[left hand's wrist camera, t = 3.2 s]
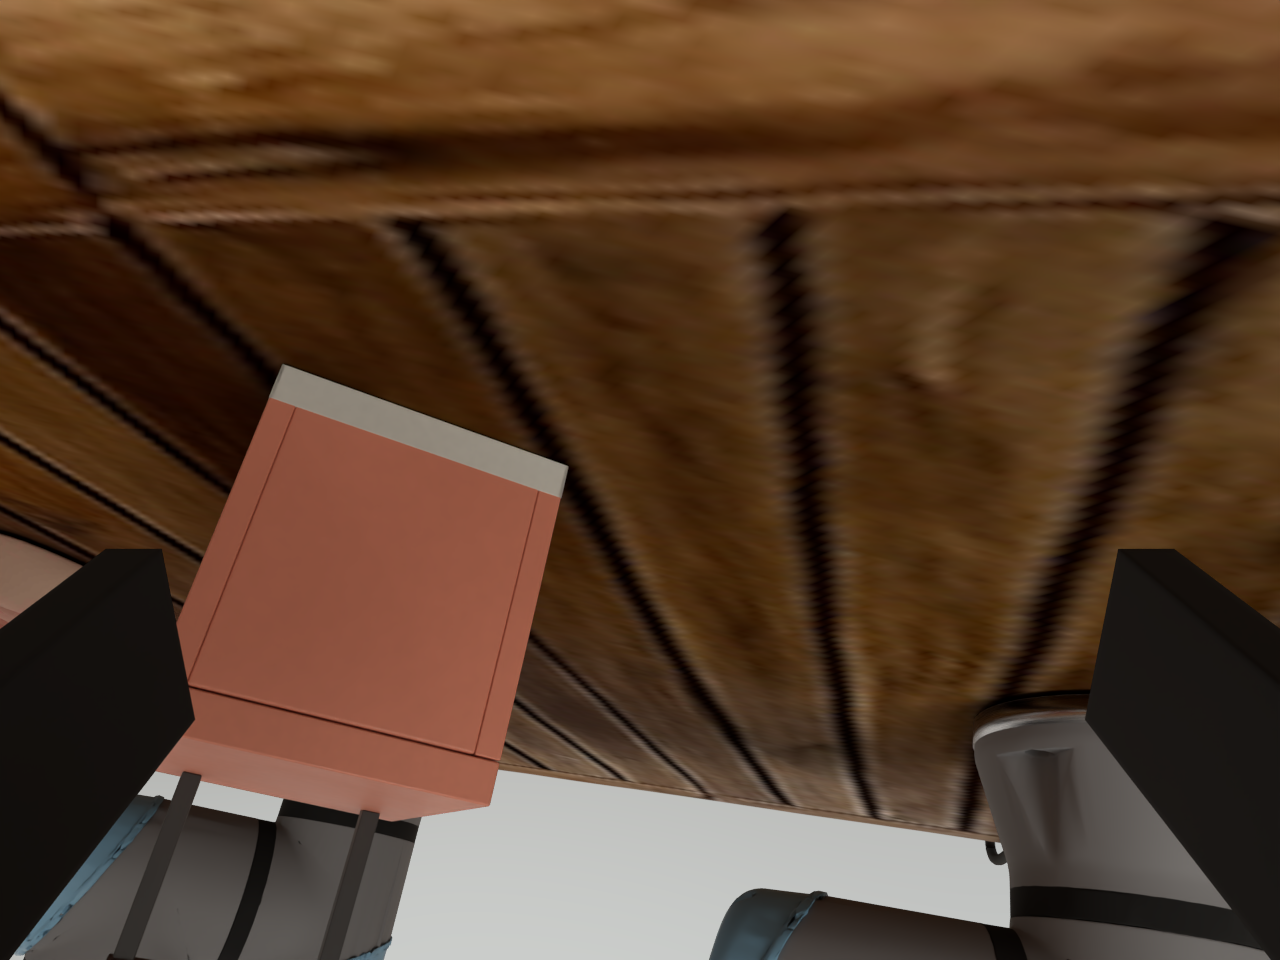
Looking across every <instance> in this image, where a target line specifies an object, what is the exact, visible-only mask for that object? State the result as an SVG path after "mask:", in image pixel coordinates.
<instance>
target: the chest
mask: <svg viewBox="0 0 1280 960" xmlns="http://www.w3.org/2000/svg"><path fill="white" fill-rule="evenodd" d="M567 471H568V466H566V465H563V464H561V463H558V462H555V461H552V460H549V459H547V458H544V457H541V456H538V455H535V454H533V453H530V452H527V451H524V450H521V449H519V448H516V447H513V446H510V445H508V444H505V443H502V442H499V441H496V440H494V439H491V438H488V437H485V436H482V435H480V434H477V433H474V432H471V431H468V430H466V429H463V428H460V427H457V426H454V425H452V424H449V423H446V422H443V421H441V420H438V419H435V418H432V417H429V416H427V415H424V414H421V413H418V412H415V411H413V410H410V409H407V408H404V407H401V406H399V405H396V404H393V403H390V402H388V401H385V400H382V399H379V398H376V397H374V396H371V395H368V394H365V393H362V392H360V391H357V390H354V389H351V388H348V387H346V386H343V385H340V384H337V383H334V382H332V381H329V380H326V379H323V378H321V377H318V376H315V375H312V374H309V373H307V372H304V371H301V370H298V369H295V368H293V367H290V366H287V365H284V364H282V367H281V369H280V371H279V374H278V376H277V379H276V381H275V384H274V386H273V388H272V391H271V393H270V396H269V399H268V402H267V404H266V407H265V409H264V412H263V414H262V416H261V419H260V421H259V424H258V426H257V429H256V431H255V433H254V436H253V438H252V441H251V443H250V446H249V448H248V450H247V453H246V455H245V458H244V460H243V463H242V465H241V467H240V470H239V472H238V475H237V477H236V480H235V482H234V484H233V487H232V489H231V492H230V494H229V497H228V499H227V502H226V504H225V506H224V509H223V511H222V514H221V516H220V519H219V521H218V523H217V526H216V528H215V531H214V533H213V536H212V538H211V540H210V543H209V545H208V548H207V550H206V553H205V555H204V557H203V560H202V562H201V565H200V567H199V570H198V572H197V574H196V577H195V579H194V582H193V584H192V587H191V589H190V591H189V594H188V596H187V599H186V601H185V604H184V606H183V608H182V611H181V613H180V616H179V618H178V621H177V623H176V624H177V629H178V634H179V639H180V645H181V650H182V655H183V660H184V665H185V670H186V675H187V680H188V685H189V687H190V688H194V689H198V690H202V691H206V692H210V693H215V694H219V695H223V696H227V697H231V698H235V699H239V700H243V701H247V702H252V703H256V704H260V705H264V706H268V707H272V708H276V709H280V710H285V711H289V712H293V713H297V714H301V715H305V716H309V717H313V718H318V719H322V720H326V721H330V722H334V723H338V724H342V725H346V726H350V727H355V728H359V729H363V730H367V731H371V732H375V733H379V734H383V735H388V736H392V737H396V738H400V739H404V740H408V741H412V742H416V743H421V744H425V745H429V746H433V747H437V748H441V749H445V750H449V751H453V752H458V753H462V754H466V755H470V756H474V757H478V758H482V759H486V760H491V761H495V762H496V761H499V760H500V759H501V755H502V751H503V746H504V742H505V738H506V733H507V729H508V725H509V720H510V716H511V711H512V707H513V703H514V698H515V694H516V690H517V685H518V681H519V677H520V672H521V668H522V664H523V659H524V655H525V651H526V646H527V642H528V638H529V633H530V629H531V625H532V620H533V616H534V612H535V607H536V603H537V599H538V594H539V590H540V586H541V581H542V577H543V572H544V568H545V564H546V559H547V555H548V551H549V546H550V542H551V538H552V533H553V529H554V525H555V520H556V516H557V512H558V507H559V503H560V499H561V497H562V493H563V488H564V484H565V480H566V475H567Z"/></svg>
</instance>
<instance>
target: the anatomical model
mask: <svg viewBox="0 0 1280 960" xmlns="http://www.w3.org/2000/svg"><path fill="white" fill-rule="evenodd" d="M81 567H83V566H82V565H80V564H78V563H76V562H74V561H71V560H69V559H67V558H64V557H62V556H60V555H57V554H55V553H53V552H50V551H48V550H45V549H43V548H40V547H38V546H35V545H33V544H30V543H28V542H25V541H22V540H19V539H17V538H14V537H11V536H7V535H4V534H0V629H1V628H2V627H3V626H5V625H6V624H7V623H9V622H10V621H11V620H12V619H14V618H15V617H16V616H18V615H19V614H20V613H22V612H23V611H24V610H26V609H27V608H28V607H30V606H31V605H32V604H34V603H35V602H36V601H38V600H39V599H40V598H42V597H43V596H44V595H46V594H47V593H48V592H50V591H51V590H52V589H54V588H55V587H56V586H58V585H59V584H60V583H61V582H63V581H64V580H65V579H67V578H68V577H69V576H71V575H72V574H73V573H75V572H76V571H77V570H79V569H80V568H81Z"/></svg>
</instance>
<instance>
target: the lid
mask: <svg viewBox="0 0 1280 960" xmlns="http://www.w3.org/2000/svg"><path fill="white" fill-rule="evenodd" d="M189 690H190V695H191V700H192V705H193V710H194V716H195V721H194V722H193V723H192V724H191V726H190V727H189V728H188V730H187V731H186V732H185V734H184V735H183V736H182V737H181V739H180V740H179V741H178V743H177V744H176V745H175V746H174V748H173V749H172V750H171V752H170V753H169V754H168V755H167V757H166V758H165V759H164V761H163V762H162V763H161V765H160V766H159V767H158V768H157V770H156V771H157V772H162V773H167V774H171V775H176V776H181V777H180V780H179V782H178V785H177V788H176V790H175V793H174V795H173V798H172V801H171V803H170V806H169V809H168V811H167V814H166V816H165V819H164V822H163V824H162V827H161V830H160V832H159V835H158V838H157V840H156V843H155V845H154V848H153V851H152V853H151V856H150V859H149V861H148V864H147V867H146V869H145V872H144V874H143V877H142V880H141V882H140V885H139V888H138V890H137V893H136V896H135V898H134V901H133V903H132V906H131V909H130V911H129V914H128V917H127V919H126V922H125V924H124V927H123V930H122V932H121V935H120V938H119V940H118V943H117V946H116V948H115V951H114V953H113V954H112V953H110V954H109V955H108V956H107V959H106V960H151V959H144V958H138V957H136V954H137V951H138V948H139V946H140V943H141V940H142V938H143V935H144V932H145V930H146V927H147V924H148V921H149V919H150V916H151V913H152V911H153V908H154V905H155V902H156V900H157V897H158V894H159V892H160V889H161V886H162V884H163V881H164V878H165V875H166V873H167V870H168V867H169V865H170V862H171V859H172V856H173V854H174V851H175V848H176V846H177V843H178V840H179V838H180V835H181V832H182V829H183V827H184V824H185V821H186V819H187V816H188V813H189V810H190V808H191V805H192V802H193V799H194V797H195V794H196V791H197V789H198V786H199V783H200V781H204V782H209V783H213V784H218V785H223V786H228V787H232V788H237V789H242V790H246V791H251V792H256V793H260V794H265V795H270V796H274V797H279V798H284V799H288V800H293V801H298V802H302V803H307V804H312V805H316V806H321V807H326V808H331V809H335V810H340V811H345V812H349V813H354V814H359V817H358V821H357V824H356V827H355V831H354V834H353V838H352V841H351V845H350V848H349V852H348V855H347V858H346V862H345V865H344V869H343V872H342V876H341V879H340V883H339V886H338V890H337V893H336V896H335V900H334V903H333V907H332V910H331V914H330V917H329V921H328V924H327V927H326V931H325V934H324V938H323V941H322V945H321V948H320V952H319V955H318V958H317V960H339V959H340V955H341V952H342V948H343V944H344V941H345V937H346V934H347V930H348V927H349V923H350V919H351V916H352V912H353V909H354V905H355V902H356V898H357V894H358V891H359V887H360V884H361V880H362V877H363V873H364V869H365V866H366V862H367V859H368V855H369V852H370V848H371V845H372V841H373V837H374V834H375V830H376V827H377V823H378V820H379V819H382V820H387V821H391V822H392V821H398V820H404V819H411V818H417V817H423V816H429V815H436V814H442V813H449V812H455V811H461V810H467V809H474V808H480V807H487V806H489V805H490V802H491V797H492V793H493V789H494V784H495V780H496V776H497V771H498V767H499V763H498V762H495V761H491V760H486V759H482V758H478V757H474V756H470V755H466V754H462V753H458V752H453V751H449V750H445V749H441V748H437V747H433V746H429V745H425V744H421V743H416V742H412V741H408V740H404V739H400V738H396V737H392V736H388V735H383V734H379V733H375V732H371V731H367V730H363V729H359V728H355V727H350V726H346V725H342V724H338V723H334V722H330V721H326V720H322V719H318V718H313V717H309V716H305V715H301V714H297V713H293V712H289V711H285V710H280V709H276V708H272V707H268V706H264V705H260V704H256V703H252V702H247V701H243V700H239V699H235V698H231V697H227V696H223V695H219V694H215V693H210V692H206V691H202V690H198V689H194V688H190V687H189Z"/></svg>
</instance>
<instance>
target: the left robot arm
mask: <svg viewBox="0 0 1280 960" xmlns="http://www.w3.org/2000/svg"><path fill="white" fill-rule="evenodd" d="M194 721H195V716H194V710H193V705H192V700H191V695H190V690H189V685H188V680H187V675H186V670H185V665H184V660H183V655H182V650H181V645H180V639H179V634H178V629H177V624H176V619H175V614H174V609H173V604H172V599H171V594H170V589H169V584H168V579H167V574H166V568H165V563H164V558H163V553H162V549H105V550H104V551H103V552H101V553H100V554H99V555H97V556H96V557H95V558H93V559H92V560H91V561H89V562H88V563H87V564H85V565H84V566H83V567H81V568H80V569H79V570H77V571H76V572H75V573H73V574H72V575H71V576H69V577H68V578H67V579H65V580H64V581H63V582H61V583H60V584H59V585H58V586H56V587H55V588H54V589H52V590H51V591H50V592H48V593H47V594H46V595H44V596H43V597H42V598H40V599H39V600H38V601H36V602H35V603H34V604H32V605H31V606H30V607H28V608H27V609H26V610H24V611H23V612H22V613H20V614H19V615H18V616H16V617H15V618H14V619H12V620H11V621H10V622H9V623H7V624H6V625H5V626H3V627H2V628H1V629H0V960H9V959H10V958H11V957H12V955H13V954H14V953H15V952H16V950H17V949H18V948H19V947H20V945H21V944H22V943H23V941H24V940H25V939H26V937H27V936H28V935H29V934H30V932H31V931H32V930H33V928H34V927H35V926H36V925H37V923H38V922H39V921H40V919H41V918H42V917H43V916H44V914H45V913H46V912H47V910H48V909H49V908H50V906H51V905H52V904H53V903H54V901H55V900H56V899H57V897H58V896H59V895H60V894H61V892H62V891H63V890H64V888H65V887H66V886H67V885H68V883H69V882H70V881H71V879H72V878H73V877H74V876H75V874H76V873H77V872H78V870H79V869H80V868H81V866H82V865H83V864H84V863H85V861H86V860H87V859H88V857H89V856H90V855H91V854H92V852H93V851H94V850H95V848H96V847H97V846H98V845H99V843H100V842H101V841H102V839H103V838H104V837H105V835H106V834H107V833H108V832H109V830H110V829H111V828H112V826H113V825H114V824H115V823H116V821H117V820H118V819H119V817H120V816H121V815H122V814H123V812H124V811H125V810H126V808H127V807H128V806H129V805H130V803H131V802H132V801H133V799H134V798H135V797H136V795H137V794H138V793H139V792H140V790H141V789H142V788H143V786H144V785H145V784H146V783H147V781H148V780H149V779H150V777H151V776H152V775H153V774H154V772H155V771H156V770H157V768H158V767H159V766H160V765H161V763H162V762H163V761H164V759H165V758H166V757H167V755H168V754H169V753H170V752H171V750H172V749H173V748H174V746H175V745H176V744H177V743H178V741H179V740H180V739H181V737H182V736H183V735H184V734H185V732H186V731H187V730H188V728H189V727H190V726H191V724H192V723H193V722H194ZM973 749H974V756H975V762H976V766H977V769H978V772H979V775H980V778H981V782H982V785H983V788H984V791H985V794H986V797H987V800H988V804H989V807H990V810H991V813H992V816H993V819H994V822H995V826H996V829H997V832H998V835H999V838H1000V841H1001V844H1002V848H1003V852H1001V853H1000V854H997V852H996V847H995V842H991V841H985V846H986V851H987V855H988V857H989V859H990V861H991V862H992V863H994V864H995V865H1003V864H1005V863H1006V862H1007V863H1008V868H1009V876H1010V916H1011V918H1010V928H1005V927H999V926H993V925H987V924H982V923H977V922H971V921H965V920H959V919H954V918H948V917H943V916H937V915H931V914H926V913H920V912H914V911H909V910H903V909H897V908H892V907H886V906H880V905H874V904H869V903H864V902H858V901H852V900H847V899H841V898H835V897H830V896H828V895H827V893H826V892H822V891H814V892H812V893H810V894H804V893H796V892H788V891H779V890H771V889H763V888H760V889H753V890H750V891H747V892H745V893H743V894H742V895H741V896H739V897H738V898H737V899H736V900H735V901H734V902H733V903H732V905H731V906H730V908H729V909H728V911H727V913H726V915H725V917H724V919H723V921H722V923H721V926H720V928H719V931H718V934H717V937H716V940H715V943H714V946H713V949H712V952H711V955H710V958H709V960H1280V629H1279V628H1278V627H1277V626H1275V625H1274V624H1273V623H1271V622H1270V621H1269V620H1268V619H1266V618H1265V617H1264V616H1262V615H1261V614H1260V613H1258V612H1257V611H1256V610H1254V609H1253V608H1252V607H1250V606H1249V605H1248V604H1246V603H1245V602H1244V601H1242V600H1241V599H1240V598H1238V597H1237V596H1236V595H1234V594H1233V593H1232V592H1230V591H1229V590H1228V589H1226V588H1225V587H1224V586H1222V585H1221V584H1220V583H1219V582H1217V581H1216V580H1215V579H1213V578H1212V577H1211V576H1209V575H1208V574H1207V573H1205V572H1204V571H1203V570H1201V569H1200V568H1199V567H1197V566H1196V565H1195V564H1193V563H1192V562H1191V561H1189V560H1188V559H1187V558H1185V557H1184V556H1183V555H1181V554H1180V553H1179V552H1177V551H1176V550H1175V549H1118V553H1117V558H1116V563H1115V568H1114V574H1113V579H1112V584H1111V589H1110V594H1109V599H1108V604H1107V609H1106V614H1105V619H1104V624H1103V629H1102V634H1101V639H1100V645H1099V650H1098V655H1097V660H1096V665H1095V670H1094V675H1093V680H1092V685H1091V690H1090V694H1071V695H1053V696H1042V697H1033V698H1026V699H1019V700H1014V701H1009V702H1005V703H1001V704H998V705H995V706H992V707H990V708H987V709H985V710H983V711H982V712H980V713H979V714H978V715H976V717H975V718H974V720H973Z"/></svg>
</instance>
